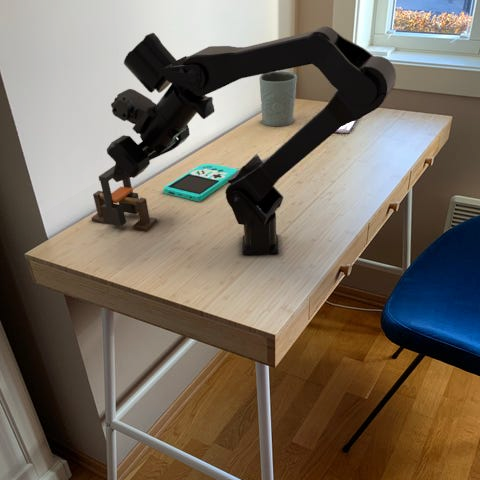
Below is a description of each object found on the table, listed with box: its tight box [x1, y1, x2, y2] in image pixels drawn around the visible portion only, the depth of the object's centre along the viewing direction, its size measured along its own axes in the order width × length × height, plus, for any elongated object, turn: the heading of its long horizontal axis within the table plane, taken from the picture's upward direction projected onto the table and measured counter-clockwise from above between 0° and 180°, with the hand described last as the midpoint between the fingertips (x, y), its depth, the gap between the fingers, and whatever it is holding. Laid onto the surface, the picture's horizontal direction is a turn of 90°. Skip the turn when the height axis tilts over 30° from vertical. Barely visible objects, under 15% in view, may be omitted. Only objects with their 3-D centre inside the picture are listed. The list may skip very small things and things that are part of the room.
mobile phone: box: [335, 120, 357, 134], centre depth 144 cm, size 8×1×15 cm
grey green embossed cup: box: [259, 70, 298, 127], centre depth 145 cm, size 10×10×12 cm
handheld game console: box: [163, 163, 240, 202], centre depth 118 cm, size 10×16×1 cm, turn 148°
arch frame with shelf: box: [98, 165, 140, 227], centre depth 102 cm, size 7×4×10 cm, turn 156°
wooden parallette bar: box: [91, 190, 158, 232], centre depth 104 cm, size 13×4×6 cm, turn 66°
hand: (128, 169), depth 98 cm, fingers open, 9 cm apart
